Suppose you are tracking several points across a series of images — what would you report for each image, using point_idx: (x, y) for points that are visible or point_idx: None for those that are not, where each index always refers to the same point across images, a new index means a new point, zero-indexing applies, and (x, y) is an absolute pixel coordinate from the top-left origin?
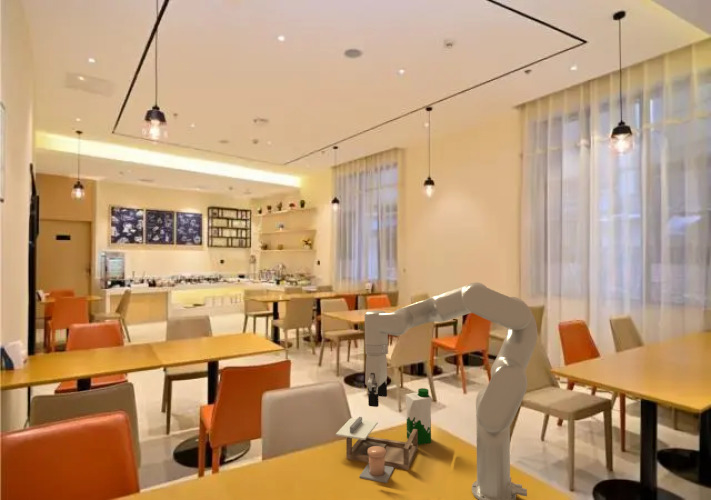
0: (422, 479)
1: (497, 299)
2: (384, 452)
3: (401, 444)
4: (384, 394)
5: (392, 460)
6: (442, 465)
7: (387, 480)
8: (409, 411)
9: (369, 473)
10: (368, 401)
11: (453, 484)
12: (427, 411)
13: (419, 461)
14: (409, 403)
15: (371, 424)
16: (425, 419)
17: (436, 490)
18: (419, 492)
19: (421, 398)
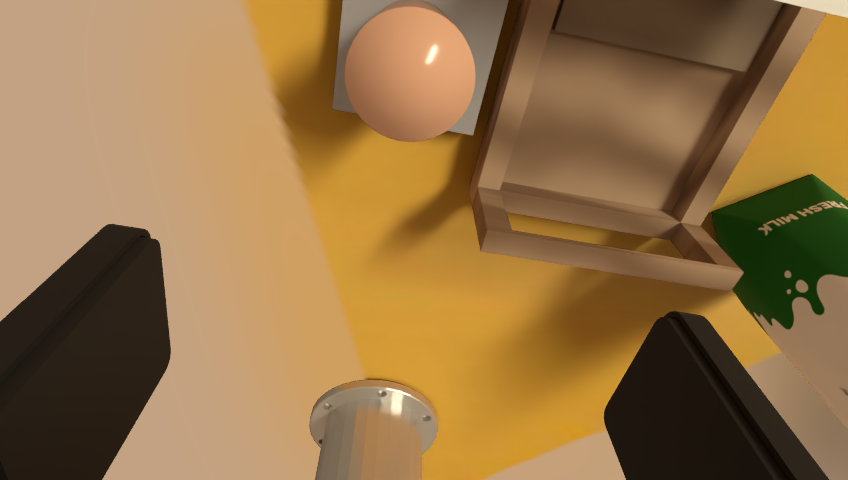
0: (423, 244)
1: None
2: (387, 135)
3: (709, 164)
4: (623, 426)
5: (513, 131)
6: (539, 311)
7: (348, 110)
8: None
9: (388, 4)
10: (61, 267)
11: (407, 335)
12: (826, 402)
13: (573, 233)
14: None
15: None
16: (792, 355)
17: (355, 287)
18: (325, 234)
19: None
